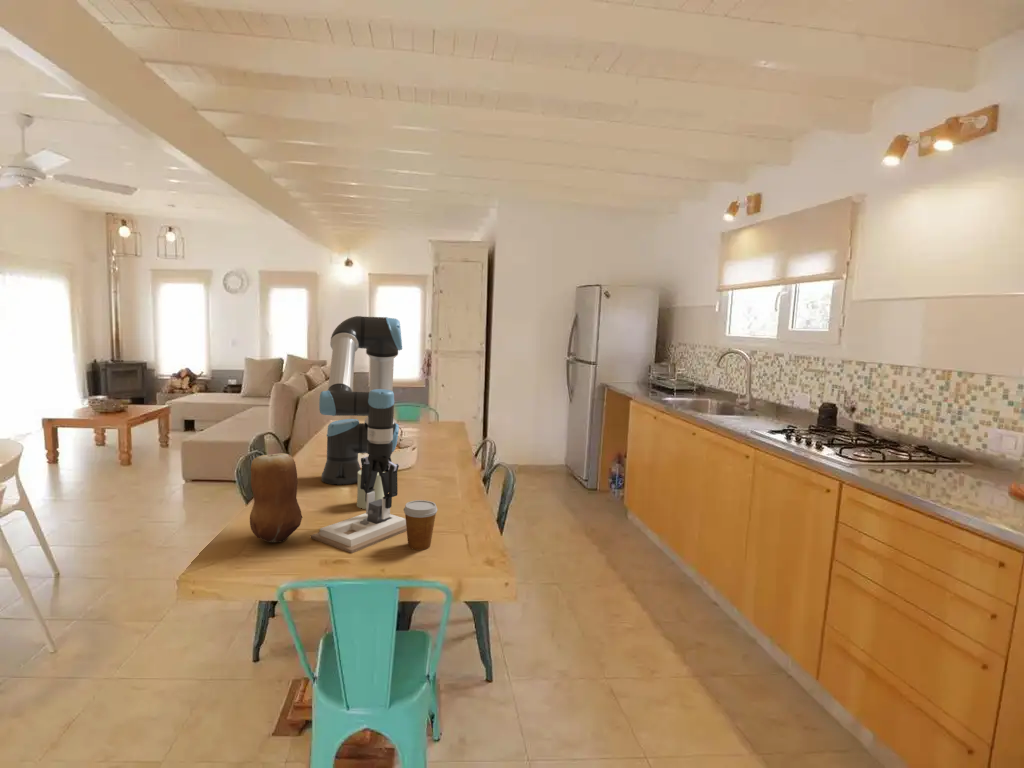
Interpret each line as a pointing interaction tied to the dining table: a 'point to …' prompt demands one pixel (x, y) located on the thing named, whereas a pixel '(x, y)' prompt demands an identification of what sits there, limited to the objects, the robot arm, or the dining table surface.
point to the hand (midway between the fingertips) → (377, 515)
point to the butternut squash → (274, 497)
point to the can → (378, 491)
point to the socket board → (359, 532)
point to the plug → (375, 512)
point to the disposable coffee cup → (420, 523)
